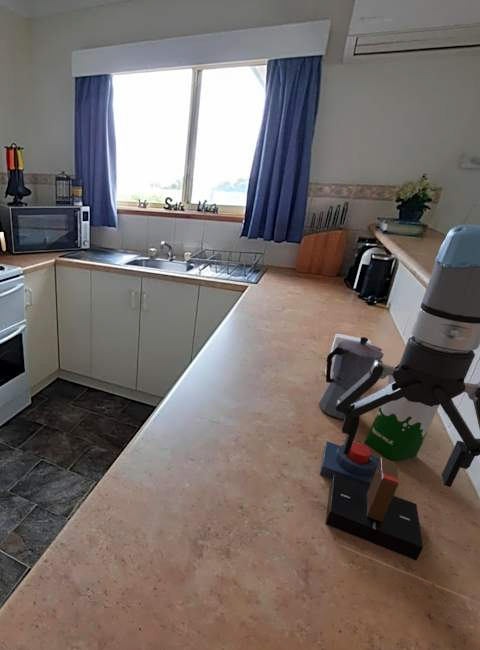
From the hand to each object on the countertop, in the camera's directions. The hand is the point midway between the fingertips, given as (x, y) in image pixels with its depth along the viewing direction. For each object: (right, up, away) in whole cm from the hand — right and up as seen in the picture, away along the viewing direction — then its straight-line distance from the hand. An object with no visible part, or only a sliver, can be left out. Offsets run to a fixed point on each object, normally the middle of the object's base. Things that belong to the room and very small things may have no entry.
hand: (393, 464), depth 63 cm
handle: (-1, -8, +4) cm, 9 cm away
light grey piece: (+21, +9, +54) cm, 58 cm away
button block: (+2, -6, +16) cm, 17 cm away
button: (+2, -3, +15) cm, 15 cm away
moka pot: (+10, +2, +36) cm, 37 cm away
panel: (-1, -11, +5) cm, 12 cm away
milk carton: (+15, -4, +23) cm, 28 cm away
